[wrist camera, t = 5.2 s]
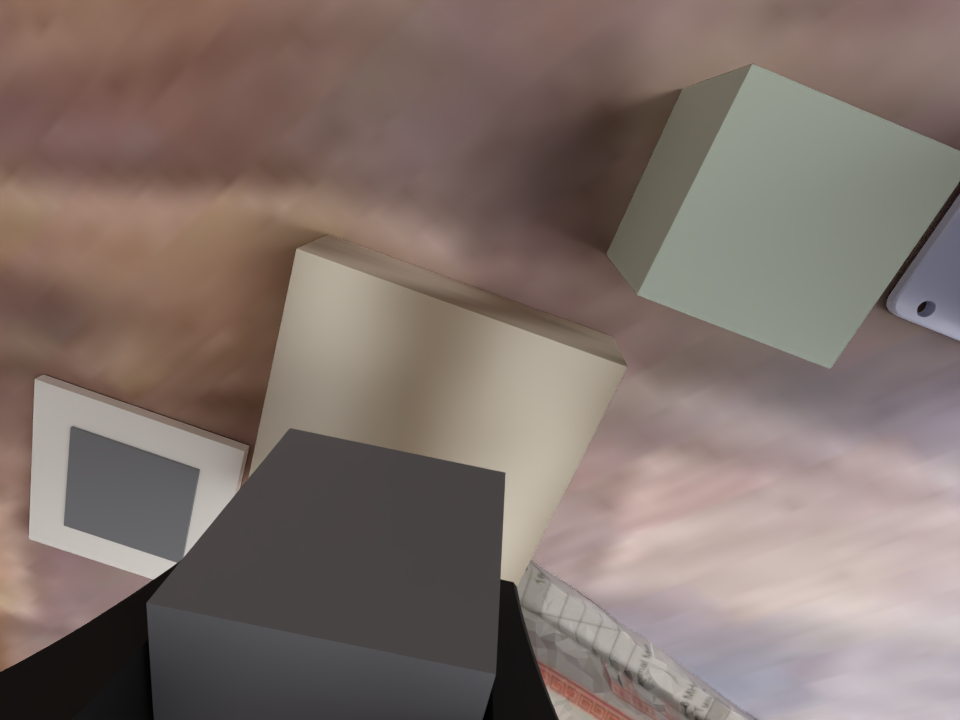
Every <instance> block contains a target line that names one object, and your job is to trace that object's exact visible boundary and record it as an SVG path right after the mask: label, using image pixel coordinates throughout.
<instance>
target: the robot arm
mask: <svg viewBox="0 0 960 720" xmlns="http://www.w3.org/2000/svg"><path fill="white" fill-rule="evenodd" d="M925 301H926V303H927V305H926V307H925V309H924V310H923V311H921V312H919V313H917V308H918V306H919V305H920V304H921V303H922V302H925ZM887 308H888V310H889V312H891V313H892V314H894V315H896V316H898V317H900V318H903V319H905V320H908V321H910V322H913V323H915V324H918V325H920V326H923V327H926V328H928V329H931V330H933V331H936V332H938V333H941V334H943V335H946V336H948V337H951V338H953V339H956V340H958V341H960V194H959V196H958V197H957V198H956V200H955V201H954V203H953V204H952V206H951V207H950V208H949V210H948V211H947V213H946V214H945V216H944V217H943V219H942V220H941V221H940V223H939V224H938V226H937V227H936V229H935V230H934V231H933V233H932V234H931V236H930V237H929V239H928V240H927V242H926V243H925V244H924V246H923V247H922V249H921V250H920V252H919V253H918V254H917V256H916V257H915V259H914V260H913V262H912V263H911V265H910V266H909V267H908V269H907V270H906V272H905V273H904V275H903V276H902V277H901V279H900V280H899V282H898V283H897V285H896V286H895V287H894V289H893V290H892V292H891V293H890V295H889V297H888V299H887ZM179 563H180V561H179V562H178V563H176V564H175V565H174V566H172V567H171V568H170V569H168V570H167V571H165V572H164V573H162V574H161V575H159V576H158V577H157V578H155V579H154V580H152V581H151V582H149V583H148V584H147V585H145V586H144V587H142V588H141V589H139V590H138V591H136V592H135V593H133V594H132V595H130V596H129V597H127V598H126V599H124V600H123V601H121V602H120V603H118V604H117V605H115V606H113V607H112V608H110V609H109V610H107V611H106V612H104V613H102V614H101V615H99V616H98V617H96V618H95V619H93V620H92V621H90V622H88V623H87V624H85V625H84V626H82V627H80V628H79V629H77V630H75V631H74V632H72V633H70V634H69V635H67V636H65V637H63V638H62V639H60V640H58V641H57V642H55V643H53V644H51V645H50V646H48V647H46V648H44V649H42V650H41V651H39V652H37V653H35V654H34V655H32V656H30V657H28V658H26V659H25V660H23V661H21V662H19V663H17V664H15V665H13V666H11V667H9V668H7V669H5V670H4V671H2V672H0V720H154V716H153V700H152V684H151V669H150V653H149V637H148V621H147V605H146V603H147V602H148V600H149V599H150V598H151V597H152V596H153V594H154V593H155V592H156V591H157V589H158V588H159V587H160V586H161V585H162V583H163V582H164V581H165V580H166V578H167V577H168V576H169V575H170V574H171V572H172V571H173V570H174V569H175V567H176V566H177V565H178V564H179ZM483 720H559V718H558V716H557V713H556V711H555V709H554V706H553V704H552V701H551V699H550V696H549V693H548V691H547V688H546V685H545V683H544V680H543V677H542V674H541V671H540V668H539V665H538V663H537V660H536V657H535V654H534V651H533V648H532V644H531V641H530V638H529V635H528V631H527V628H526V624H525V620H524V617H523V613H522V609H521V605H520V600H519V595H518V590H517V586H516V585H515V584H514V582H511V581H506V580H502V579H500V599H499V620H498V641H497V662H496V676H495V679H494V683H493V686H492V689H491V693H490V696H489V699H488V703H487V706H486V710H485V713H484V716H483Z"/></svg>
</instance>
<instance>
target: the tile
mask: <svg viewBox="0 0 960 720" xmlns="http://www.w3.org/2000/svg"><path fill="white" fill-rule="evenodd" d="M249 447H250V446H248V445H246V444H243V443H240V442H237V441H234V440H231V439H228V438H225V437H222V436H220V435H217V434H214V433H211V432H208V431H205V430H202V429H199V428H197V427H194V426H191V425H188V424H185V423H182V422H179V421H176V420H173V419H171V418H168V417H165V416H162V415H159V414H156V413H153V412H150V411H147V410H145V409H142V408H139V407H136V406H133V405H130V404H127V403H124V402H122V401H119V400H116V399H113V398H110V397H107V396H104V395H101V394H98V393H96V392H93V391H90V390H87V389H84V388H81V387H78V386H75V385H72V384H70V383H67V382H64V381H61V380H58V379H55V378H52V377H49V376H47V375H42V376H40V377H38V378H35V385H34V412H33V439H32V467H31V494H30V521H29V539H31V540H34V541H37V542H40V543H43V544H46V545H49V546H52V547H55V548H58V549H61V550H64V551H68V552H71V553H74V554H77V555H80V556H83V557H86V558H89V559H92V560H95V561H98V562H101V563H104V564H107V565H111V566H114V567H117V568H120V569H123V570H126V571H129V572H132V573H135V574H138V575H141V576H144V577H147V578H151V579H155V578H157V577H158V576H159V575H161V574H162V573H164V572H165V571H167V570H168V569H170V568H171V567H172V566H174V565H175V564H176V563H178V562H179V561H181V560H182V559H183V558H184V556H185V555H186V554H187V553H188V552H189V550H190V549H191V548H192V547H193V546H194V544H195V543H196V542H197V541H198V539H199V538H200V537H201V536H202V535H203V533H204V532H205V531H206V530H207V528H208V527H209V526H210V525H211V524H212V522H213V521H214V520H215V519H216V517H217V516H218V515H219V514H220V513H221V511H222V510H223V509H224V508H225V507H226V505H227V504H228V503H229V502H230V500H231V499H232V498H233V497H234V496H235V494H236V493H237V492H238V491H239V489H240V486H241V482H242V477H243V473H244V469H245V464H246V460H247V455H248V451H249Z"/></svg>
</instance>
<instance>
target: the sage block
mask: <svg viewBox="0 0 960 720" xmlns="http://www.w3.org/2000/svg"><path fill="white" fill-rule="evenodd" d="M959 182H960V151H959V150H957V149H954V148H952V147H950V146H947V145H945V144H942V143H940V142H938V141H935V140H933V139H931V138H928V137H926V136H923V135H921V134H919V133H916V132H914V131H912V130H909V129H907V128H904V127H902V126H900V125H897V124H895V123H892V122H890V121H888V120H885V119H883V118H881V117H878V116H876V115H873V114H871V113H869V112H866V111H864V110H862V109H859V108H857V107H854V106H852V105H850V104H847V103H845V102H843V101H840V100H838V99H835V98H833V97H831V96H828V95H826V94H823V93H821V92H819V91H816V90H814V89H812V88H809V87H807V86H804V85H802V84H800V83H797V82H795V81H793V80H790V79H788V78H785V77H783V76H781V75H778V74H776V73H774V72H771V71H769V70H766V69H764V68H762V67H759V66H757V65H754V64H750V65H747V66H745V67H742V68H739V69H736V70H733V71H730V72H728V73H725V74H722V75H719V76H716V77H713V78H711V79H708V80H705V81H702V82H699V83H696V84H694V85H691V86H688V87H685V88H683V89H682V91H681V93H680V95H679V97H678V99H677V102H676V104H675V106H674V108H673V110H672V112H671V115H670V117H669V119H668V121H667V123H666V126H665V128H664V130H663V132H662V134H661V136H660V139H659V141H658V143H657V145H656V147H655V149H654V152H653V154H652V156H651V158H650V160H649V162H648V165H647V167H646V169H645V171H644V173H643V175H642V178H641V180H640V182H639V184H638V186H637V189H636V191H635V193H634V195H633V197H632V199H631V202H630V204H629V206H628V208H627V210H626V212H625V215H624V217H623V219H622V221H621V223H620V225H619V228H618V230H617V232H616V234H615V236H614V239H613V241H612V243H611V245H610V247H609V249H608V252H607V254H606V255H607V256H608V258H609V259H610V260H611V262H612V263H613V264H614V266H615V267H616V268H617V270H618V271H619V272H620V273H621V275H622V276H623V277H624V279H625V280H626V281H627V283H628V284H629V285H630V287H631V288H632V289H633V290H634V292H635V293H636V294H637V295H638V296H641V297H643V298H646V299H649V300H651V301H654V302H656V303H659V304H662V305H664V306H667V307H669V308H672V309H675V310H677V311H680V312H683V313H685V314H688V315H690V316H693V317H696V318H698V319H701V320H703V321H706V322H709V323H711V324H714V325H716V326H719V327H722V328H724V329H727V330H730V331H732V332H735V333H737V334H740V335H743V336H745V337H748V338H750V339H753V340H756V341H758V342H761V343H763V344H766V345H769V346H771V347H774V348H776V349H779V350H782V351H784V352H787V353H790V354H792V355H795V356H797V357H800V358H803V359H805V360H808V361H810V362H813V363H816V364H818V365H821V366H823V367H826V368H829V369H831V368H832V366H833V365H834V363H835V362H836V360H837V359H838V357H839V356H840V354H841V353H842V352H843V350H844V349H845V347H846V346H847V344H848V343H849V341H850V340H851V339H852V337H853V336H854V334H855V333H856V331H857V330H858V328H859V327H860V325H861V324H862V323H863V321H864V320H865V318H866V317H867V315H868V314H869V312H870V311H871V309H872V308H873V307H874V305H875V304H876V302H877V301H878V299H879V298H880V296H881V295H882V294H883V292H884V291H885V289H886V288H887V286H888V285H889V283H890V282H891V280H892V279H893V278H894V276H895V275H896V273H897V272H898V270H899V269H900V267H901V266H902V264H903V263H904V262H905V260H906V259H907V257H908V256H909V254H910V253H911V251H912V250H913V248H914V247H915V246H916V244H917V243H918V241H919V240H920V238H921V237H922V235H923V234H924V233H925V231H926V230H927V228H928V227H929V225H930V224H931V222H932V221H933V219H934V218H935V217H936V215H937V214H938V212H939V211H940V209H941V208H942V206H943V205H944V203H945V202H946V201H947V199H948V198H949V196H950V195H951V193H952V192H953V190H954V189H955V188H956V186H957V185H958V183H959Z"/></svg>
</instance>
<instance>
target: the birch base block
mask: <svg viewBox="0 0 960 720" xmlns="http://www.w3.org/2000/svg"><path fill="white" fill-rule="evenodd" d="M627 368H628V366H627V364H626V362H625V360H624V358H623V356H622V354H621V352H620V349H619V347H618V345H617V343H616V341H615V339H614V337H612V336H609V335H607V334H604V333H601V332H598V331H595V330H593V329H590V328H587V327H584V326H582V325H579V324H576V323H573V322H570V321H568V320H565V319H562V318H559V317H557V316H554V315H551V314H548V313H545V312H543V311H540V310H537V309H534V308H532V307H529V306H526V305H523V304H520V303H518V302H515V301H512V300H509V299H507V298H504V297H501V296H498V295H495V294H493V293H490V292H487V291H484V290H482V289H479V288H476V287H473V286H470V285H468V284H465V283H462V282H459V281H457V280H454V279H451V278H448V277H445V276H443V275H440V274H437V273H434V272H432V271H429V270H426V269H423V268H421V267H418V266H415V265H412V264H409V263H407V262H404V261H401V260H398V259H396V258H393V257H390V256H387V255H384V254H382V253H379V252H376V251H373V250H371V249H368V248H365V247H362V246H359V245H357V244H354V243H351V242H348V241H346V240H343V239H340V238H337V237H334V236H332V235H329V234H327V235H325V236H323V237H321V238H318V239H316V240H314V241H312V242H310V243H308V244H305V245H303V246H301V247H299V248H297V249H296V254H295V258H294V263H293V268H292V273H291V277H290V282H289V287H288V292H287V296H286V301H285V306H284V311H283V316H282V320H281V325H280V330H279V335H278V339H277V344H276V349H275V354H274V358H273V363H272V368H271V373H270V377H269V382H268V387H267V392H266V397H265V401H264V406H263V411H262V416H261V420H260V425H259V430H258V435H257V439H256V444H255V449H254V454H253V459H252V463H251V468H250V473H249V477H250V476H251V475H252V474H253V472H254V471H255V470H256V469H257V467H258V466H259V465H260V464H261V463H262V461H263V460H264V459H265V458H266V457H267V455H268V454H269V453H270V452H271V450H272V449H273V448H274V447H275V446H276V444H277V443H278V442H279V441H280V439H281V438H282V437H283V436H284V435H285V433H286V432H287V431H288V430H289V428H292V429H297V430H302V431H307V432H312V433H317V434H321V435H326V436H331V437H336V438H341V439H346V440H350V441H355V442H360V443H365V444H370V445H375V446H379V447H384V448H389V449H394V450H399V451H404V452H408V453H413V454H418V455H423V456H428V457H433V458H437V459H442V460H447V461H452V462H457V463H462V464H466V465H471V466H476V467H481V468H486V469H491V470H495V471H500V472H505V473H506V474H505V495H504V516H503V537H502V557H501V578H500V579H502V580H506V581H511V582H514V584H515V585H516V586H518V584H519V582H520V580H521V578H522V576H523V574H524V572H525V570H526V568H527V566H528V564H529V562H530V560H531V558H532V556H533V554H534V552H535V550H536V548H537V546H538V544H539V542H540V540H541V539H542V537H543V535H544V533H545V531H546V529H547V527H548V525H549V523H550V521H551V519H552V517H553V515H554V513H555V511H556V509H557V507H558V505H559V503H560V501H561V499H562V497H563V495H564V493H565V491H566V489H567V487H568V485H569V483H570V481H571V479H572V477H573V475H574V473H575V471H576V469H577V467H578V465H579V463H580V461H581V459H582V457H583V455H584V453H585V451H586V449H587V447H588V445H589V443H590V441H591V439H592V437H593V435H594V433H595V431H596V429H597V427H598V425H599V423H600V421H601V419H602V417H603V415H604V413H605V411H606V409H607V407H608V406H609V404H610V402H611V400H612V398H613V396H614V394H615V392H616V390H617V388H618V386H619V384H620V382H621V380H622V378H623V376H624V374H625V372H626V370H627Z"/></svg>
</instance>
